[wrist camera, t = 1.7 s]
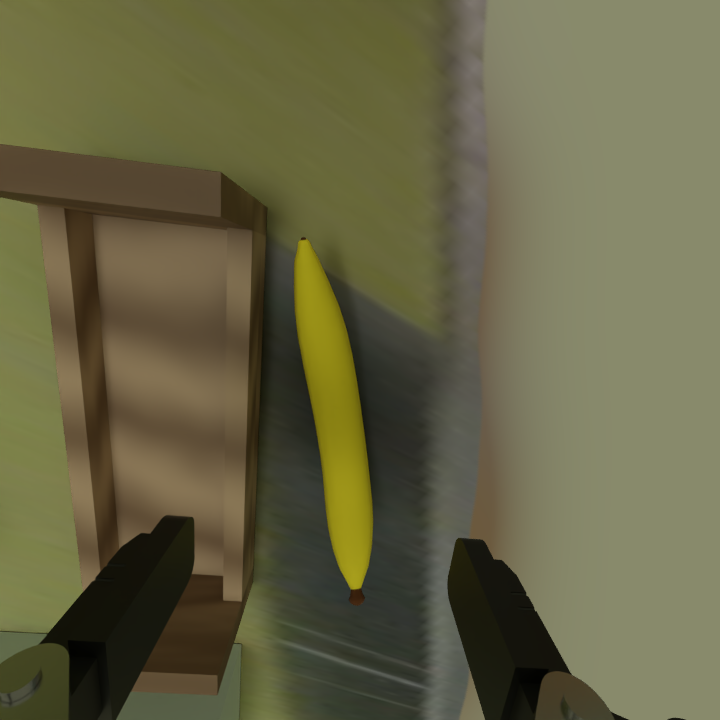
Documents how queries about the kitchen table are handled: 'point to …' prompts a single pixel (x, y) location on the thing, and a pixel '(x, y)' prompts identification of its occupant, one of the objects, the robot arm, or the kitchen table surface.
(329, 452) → the banana
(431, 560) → the kitchen table surface
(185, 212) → the cradle
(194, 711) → the camera caddy
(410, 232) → the kitchen table surface
